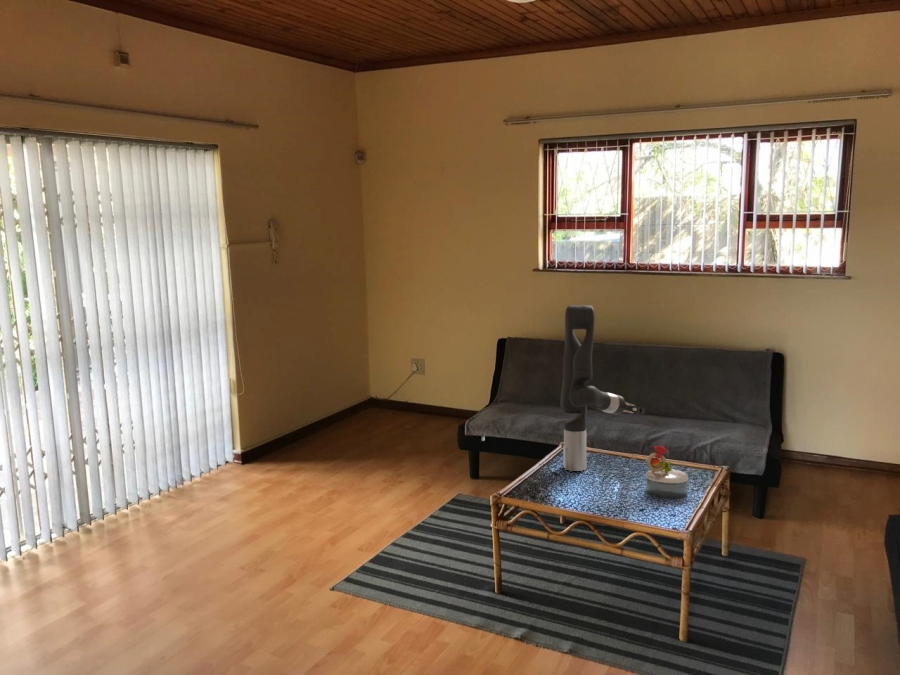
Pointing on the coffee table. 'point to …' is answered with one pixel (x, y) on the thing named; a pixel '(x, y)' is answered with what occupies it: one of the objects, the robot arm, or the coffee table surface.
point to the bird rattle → (655, 462)
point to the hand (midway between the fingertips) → (635, 409)
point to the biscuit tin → (667, 484)
